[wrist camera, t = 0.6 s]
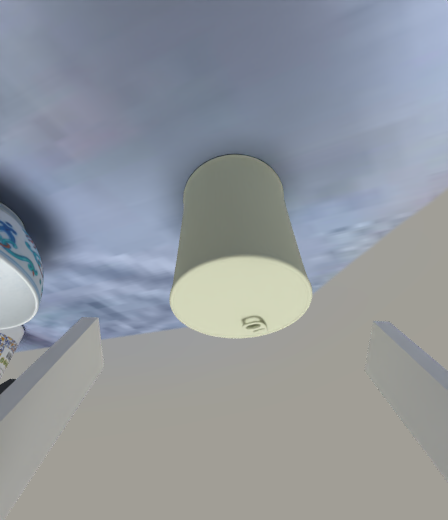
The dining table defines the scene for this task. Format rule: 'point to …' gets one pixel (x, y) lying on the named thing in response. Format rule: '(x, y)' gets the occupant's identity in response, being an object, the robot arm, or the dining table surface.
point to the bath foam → (9, 345)
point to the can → (237, 253)
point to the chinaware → (18, 272)
